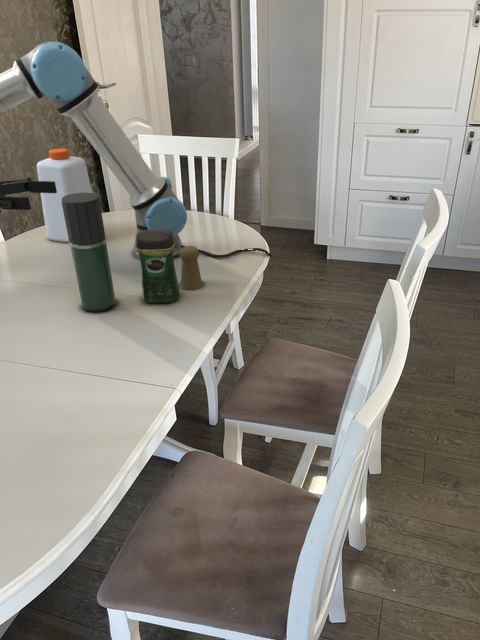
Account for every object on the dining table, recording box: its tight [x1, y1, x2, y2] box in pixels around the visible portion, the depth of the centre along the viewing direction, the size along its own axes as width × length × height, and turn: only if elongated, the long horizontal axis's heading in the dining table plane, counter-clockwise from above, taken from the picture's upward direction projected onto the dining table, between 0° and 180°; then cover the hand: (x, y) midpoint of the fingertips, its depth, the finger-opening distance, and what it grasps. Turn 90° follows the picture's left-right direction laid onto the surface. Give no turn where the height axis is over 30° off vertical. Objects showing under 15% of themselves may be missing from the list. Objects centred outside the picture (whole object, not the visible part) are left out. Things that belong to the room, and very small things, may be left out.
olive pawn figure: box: [178, 245, 203, 291], centre depth 149 cm, size 6×6×11 cm
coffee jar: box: [135, 229, 181, 304], centre depth 140 cm, size 10×8×19 cm
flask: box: [69, 236, 117, 314], centre depth 135 cm, size 8×8×22 cm
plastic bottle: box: [36, 148, 93, 244], centre depth 179 cm, size 15×15×28 cm
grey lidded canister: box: [61, 192, 106, 245], centre depth 129 cm, size 8×8×10 cm
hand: (42, 195), depth 127 cm, fingers open, 13 cm apart
